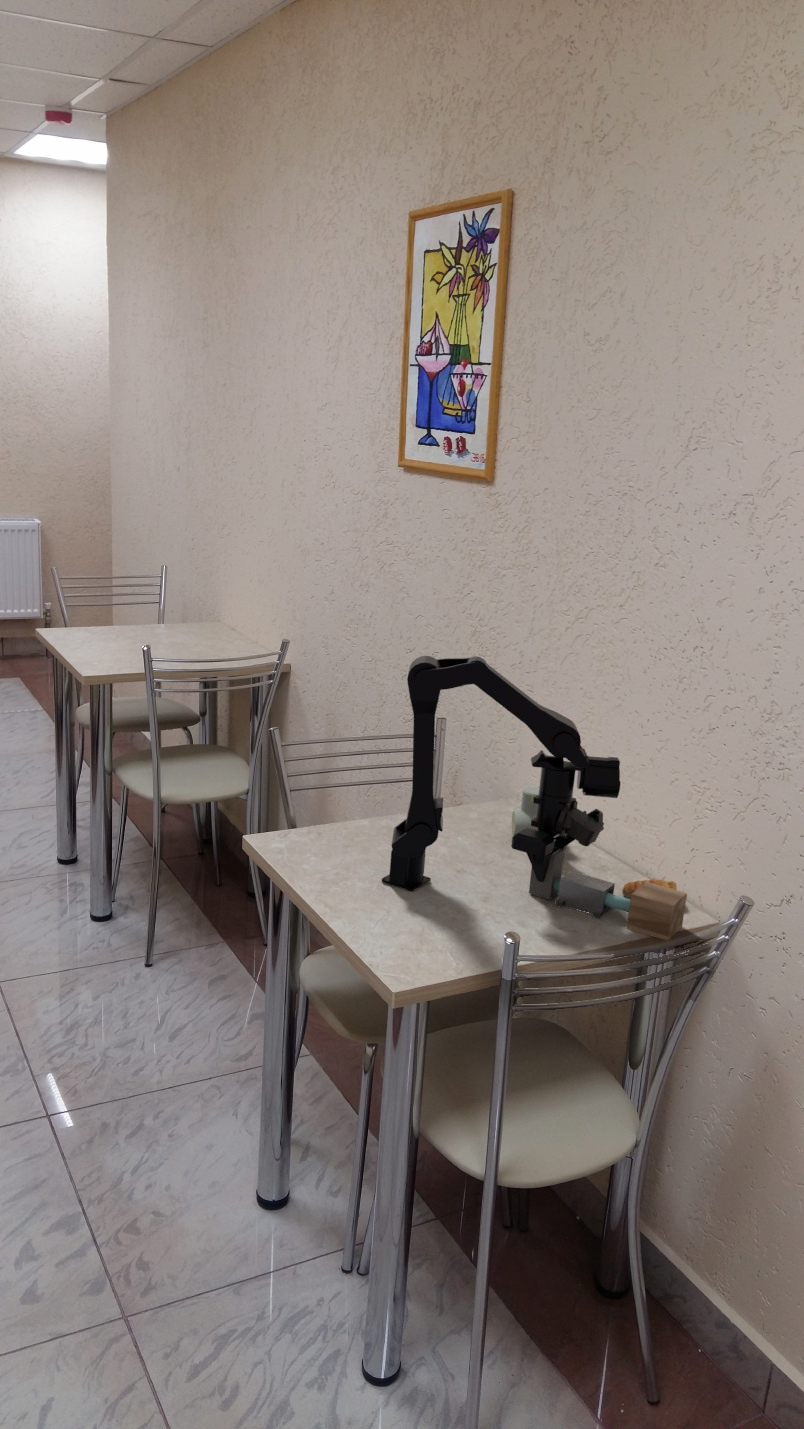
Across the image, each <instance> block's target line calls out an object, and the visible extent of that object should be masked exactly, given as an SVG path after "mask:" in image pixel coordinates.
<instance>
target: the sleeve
mask: <svg viewBox="0 0 804 1429" xmlns="http://www.w3.org/2000/svg"><path fill="white" fill-rule="evenodd" d="M615 884H616V883H615V882H611V881H608V880H604V879H600V878H597V877H594V876H590V875H587V874H584V873H579V872H575V871H573V870H571V871H569V872H568V873H566V874H565V875H563V876H561V879H560V885H559V893H558V894H557V895H558V896H557V899H555V904H554V906H555V905H556V906H555V907H559V906H560V907H559V908H563V907H566V906H568V907H567V908H569V907H571V908H570V909H573V908H574V909H573V910H576V909H578V910H577V911H579V910H581V911H580V912H582V911H585V912H584V913H586V912H589V913H591V914H590V915H592V914H593V915H592V916H594V917H595V918H594V917H593V918H594V919H597V920H600V918H602V917H603V916H604V915H605V914H607V913H608V912H610V911H611V910H612V909H613V908H611V907H608V906H605V905H604V901H605V894H606V893H610V894H614V892H615ZM562 906H563V907H562ZM589 913H588V914H589Z"/></svg>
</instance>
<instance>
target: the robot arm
mask: <svg viewBox="0 0 804 1429" xmlns="http://www.w3.org/2000/svg"><path fill="white" fill-rule="evenodd" d="M406 681H407V687H408V694H409V701H410V705H411V709H412V714H413V730H412V731H413V732H412V733H413V735H412V736H413V740H412V781H411V784H412V786H411V788H412V790H411V796H410V798H409V805H408V809H407V814H406V818H405V819H404V820H402V822H400V823H399V824H397V825H396V826H395V827H394V828H393V835H392V840H391V845H390V846H391V852H390V853H391V854H390V864H389V874H388V875H386V876H384V877H382V878H381V882H382V883H385V884H386V885H391V886H394V887H397V888H399V889H403V890H406V891H410V892H413V891H416V890H417V889H420V888H421V887H423V886H424V885H426V884H428V883H430V882H431V881H432V878H431V877H429V876H425V875H424V874H425V864H426V862H425V861H426V850H427V847H429V846H431V845H433V844H434V843H435V842H436V841H437V840H438V836H439V832H443V831H444V830H443V829H444V827H443V826H444V818H443V810H444V809H443V808H444V798H443V797H438V798H436V794H435V790H434V783H435V782H434V781H435V780H434V779H435V778H434V775H435V774H434V772H435V767H434V766H435V739H436V738H435V737H436V736H435V733H436V732H435V730H436V729H435V728H436V712H437V708H438V703H439V699H440V694H441V691H443V690H451V689H455V688H459V687H463V686H467V685H474V686H476V687H477V688H478V689H480V690H481V691H482V692H483V693H484V694H486V695H487V696H489V697H490V698H491V699H493V700H494V701H495V702H496V703H498V704H499V705H500V706H502V707H503V708H504V709H505V710H507V711H508V712H509V713H510V714H512V715H513V716H515V718H517V719H518V720H519V721H520V722H522V723H524V724H525V725H526V726H527V727H528V729H529V730H530V731H531V732H532V733H533V734H534V736H535V738H537V740H538V741H539V742H540V743H541V744H542V745H543V746H544V748H545V749H546V750H547V751H548V752H549V753H550V754H551V755H547V754H546V753H545V751H544V750H542V749H541V750H539V752H538V753H537V754H535V755H534V756H532V757H531V758H530V763H531V766H532V767H533V768H541V770H540V779H539V780H540V781H539V786H538V787H539V795H537V796H535V797H534V801H533V803H536V804H537V813H536V818H534V819H532V820H531V826H534V827H538V830H537V831H536V830H533V829H529V828H526V829H524V830H522V831H520V832H519V833H517V834H516V835H513V836H512V837H511V844H510V846H511V848H512V850H515V851H519V852H522V853H526V855H527V858H528V860H529V862H530V865H531V869H532V868H533V870H534V873H535V876H536V879H537V881H539V882H544V879H545V876H546V872H547V869H548V865H549V861H550V857H551V855H552V854H554V853H555V852H557V851H558V850H559V849H558V848H560V849H564V852H565V851H566V849H567V846H568V845H570V844H571V843H572V842H574V841H575V840H576V841H577V842H578V843H579V844H580V845H582V846H583V847H589V846H590V845H591V844H593V843H595V842H596V841H597V838H598V837H599V835H600V833H601V832H603V831H604V829H605V828H604V825H605V822H604V813H603V811H601V810H600V809H598V808H595V809H593V810H591V811H590V812H587V811H586V810H583V811H582V810H580V809H579V808H578V800H577V798H575V797H573V795H574V787H575V786H574V785H575V778H576V788H577V790H581V793H582V795H583V796H589V797H599V798H612V799H618V797H619V794H620V790H621V780H620V779H621V778H620V777H621V775H620V774H621V773H620V772H621V770H620V763H621V761H620V759H619V758H618V757H613V756H609V757H601V756H592V755H591V756H590V755H589V756H588V754H587V752H586V749H585V748H584V747H582V745H581V743H582V740H581V738H582V737H581V735H580V732H579V730H578V727H577V726H576V724H575V723H574V721H573V720H571V719H570V718H568V717H566V716H564V715H562V714H561V713H558V712H557V711H555V710H552V709H550V708H548V707H545V706H543V705H541V704H539V703H538V702H537V701H535V700H534V699H533V698H531V697H530V696H529V695H527V693H525V692H524V691H523V690H521V689H520V688H519V687H517V686H516V685H515V684H514V683H513V682H511V681H510V680H509V679H508V678H506V677H504V676H503V674H501V673H500V672H498V671H497V670H496V669H494V668H493V667H492V666H490V664H489V663H487V661H486V660H485V659H484V658H482V657H481V656H472V657H461V658H460V657H459V658H458V657H457V658H456V657H455V658H454V657H453V658H451V657H448V658H445V657H444V658H439V659H437V658H435V657H432V656H430V655H429V656H428V655H423V656H422V655H421V656H419V657H417V658H415V659H414V660H413V661H412V662H411V663H410V665H409V668H408V673H407V680H406ZM564 759H567V761H566V760H564ZM576 771H577V775H576ZM554 847H557V848H554Z"/></svg>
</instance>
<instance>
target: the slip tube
mask: <svg viewBox="0 0 804 1429" xmlns="http://www.w3.org/2000/svg"><path fill="white" fill-rule="evenodd" d="M554 848H557V847H554ZM558 849H559V850H558V851H557V852H555V853H554V854H552V855H551V857H550V861H549V865H548V869H547V872H546V876H545V879H544V882H539V881H537V879H536V876H535V873H534V870H533V868H532V867H531V871H530V878H529V879H530V880H529V888H528V889H529V890H528V894H531V895H533V896H536V897H537V896H538V897H541V898H543V899H547V900H552V899H553V898H555V897H556V896H557V895H558V894H559V885H560V879H561V878H562V877H563V876H562V874H563V866H564V859H565V858H564V857H565V851H564V849H560V848H558ZM604 905H605V906H608V907H611V908H612V909H615V910H618V911H622V912H624V913H625V912H626V913H627V914H629V907H630V899H628V898H627V897H623V896H620V895H616V894H614V893H613V894H610V893H606V894H605V901H604Z"/></svg>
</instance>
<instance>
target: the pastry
mask: <svg viewBox="0 0 804 1429" xmlns="http://www.w3.org/2000/svg"><path fill="white" fill-rule="evenodd" d="M645 882H650V883H653V884H657V885H660V886H664V887H667V888H671V889H674V890H677V882H675V881H674V880H670V881H666V880H663V879H656V878H650V879H644V880H636V881H631V882H627V883H625V884H624V885H623V887H622V891H621V892H622V894H623V895H624V896H625V898H628V899H631V894H632V893H633V892H634V891H636V890H637V889H638V888H639V887H641V886H642V885H643V884H644V883H645Z"/></svg>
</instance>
